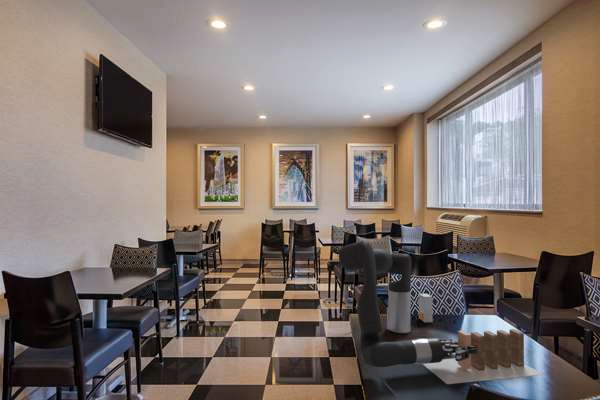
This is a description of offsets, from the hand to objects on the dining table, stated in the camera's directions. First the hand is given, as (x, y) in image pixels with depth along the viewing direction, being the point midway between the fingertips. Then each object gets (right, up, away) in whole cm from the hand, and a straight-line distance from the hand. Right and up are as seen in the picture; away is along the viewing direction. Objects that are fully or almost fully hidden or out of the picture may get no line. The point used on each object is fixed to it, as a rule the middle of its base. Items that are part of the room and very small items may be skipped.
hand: (471, 347), depth 118 cm
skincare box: (+3, -9, +52) cm, 52 cm away
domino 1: (+2, -7, 0) cm, 7 cm away
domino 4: (+17, -7, +3) cm, 19 cm away
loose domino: (-3, -6, -1) cm, 7 cm away
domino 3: (+12, -7, +2) cm, 14 cm away
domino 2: (+7, -7, +1) cm, 10 cm away
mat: (+3, -8, 0) cm, 8 cm away
